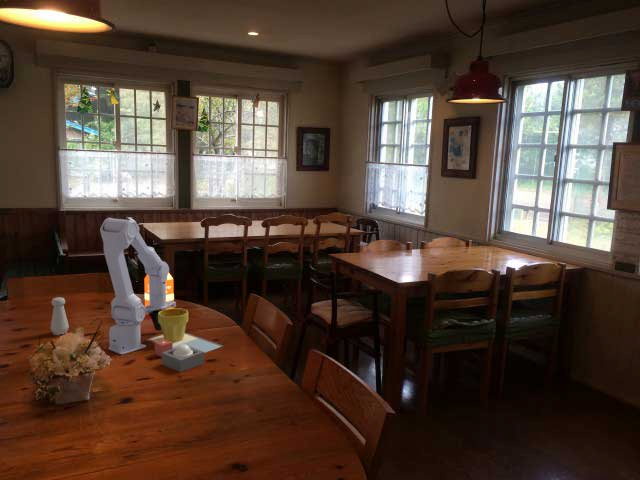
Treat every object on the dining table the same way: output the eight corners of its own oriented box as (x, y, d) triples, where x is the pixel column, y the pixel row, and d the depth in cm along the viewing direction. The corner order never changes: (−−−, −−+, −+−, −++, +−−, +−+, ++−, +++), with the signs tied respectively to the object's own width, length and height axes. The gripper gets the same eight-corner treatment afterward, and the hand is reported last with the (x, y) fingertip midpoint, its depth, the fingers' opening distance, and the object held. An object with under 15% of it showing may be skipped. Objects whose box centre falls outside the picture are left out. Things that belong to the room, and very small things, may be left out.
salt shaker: (72, 331, 193) (70, 296, 191) (63, 336, 187) (61, 300, 185) (56, 330, 193) (55, 295, 191) (47, 335, 188) (45, 299, 185)
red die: (162, 357, 172) (162, 345, 171) (154, 354, 174) (154, 342, 173) (172, 353, 175) (172, 342, 174) (164, 350, 177) (164, 339, 177)
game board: (191, 357, 172) (191, 357, 172) (146, 340, 186) (146, 339, 186) (223, 346, 184) (223, 345, 184) (178, 330, 198) (178, 330, 198)
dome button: (181, 364, 163) (181, 349, 162) (169, 359, 166) (169, 345, 166) (197, 359, 168) (196, 344, 167) (184, 354, 171) (184, 340, 170)
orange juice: (158, 318, 211) (157, 268, 208) (144, 313, 216) (143, 265, 213) (174, 313, 217) (173, 265, 214) (160, 309, 222) (160, 262, 219)
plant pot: (152, 341, 185) (151, 314, 183) (168, 332, 195) (168, 306, 193) (178, 345, 182) (178, 318, 181) (194, 336, 192) (193, 309, 190)
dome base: (180, 372, 161) (180, 360, 160) (161, 364, 166) (161, 352, 166) (204, 363, 168) (204, 351, 168) (185, 355, 174) (185, 344, 173)
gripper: (147, 299, 183) (147, 337, 185) (181, 291, 195) (181, 327, 197) (134, 295, 187) (135, 332, 189) (168, 288, 199) (169, 323, 201)
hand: (158, 329), depth 193 cm, fingers closed
